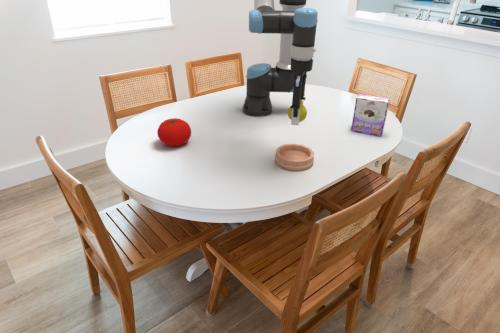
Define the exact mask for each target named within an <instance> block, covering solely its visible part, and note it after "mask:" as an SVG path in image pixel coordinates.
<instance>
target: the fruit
mask: <svg viewBox="0 0 500 333" xmlns="http://www.w3.org/2000/svg"><path fill="white" fill-rule="evenodd" d="M302 91H303V90H302ZM307 115H308V110H307V108H306V106H305V105H304V102H303V103H302V100H301V101H300V116H299V123H301V122H303V121H305V119H306V117H307ZM287 116H288V118H289V119H290V120H291V118H292V108H290V106H289V107H288V108H287Z"/></svg>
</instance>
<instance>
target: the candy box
mask: <svg viewBox="0 0 500 333" xmlns="http://www.w3.org/2000/svg"><path fill="white" fill-rule="evenodd" d="M390 99H391V98H388V97H381V96H380V97H379V96H373V95H368V94H362V93H358V95H357V96H356V98H355V103H354V105H355V106H354V110H353V117H352V123H351V127H350V128H351V129H350V132H353V133H361V134H366V135H370V136H377V137H382V136H383V133H384V129H385V125H386V120H387V115H388V109H389V105H390Z"/></svg>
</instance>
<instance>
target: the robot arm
mask: <svg viewBox="0 0 500 333" xmlns="http://www.w3.org/2000/svg"><path fill="white" fill-rule="evenodd" d="M253 2H254V3H253V4H254V6H253V8H254V9H251V10H249V11H248V31H249V32H250V33H252V34H253V33H254V34H280V42H279V43H280V44H279V57H278V58H279V59H278V61H277V62H276V63H275V67H272V66H271V64H270V63H266V62H265V63H264V62H263V63H261V62H260V63H256V64H252V65H250V66H248V68H247V69H246V95H245V96H246V97H245V99H244V102H243V105H242V112H243V114H245V115H248V116H250V117H267V116H269V115H271V114H273V104H272V101H271V100H272V99H271V97H270V96H271V95H270V93H292V100H291V105H290V106H289V107H290V108H292V118H291V119H290V125H291V126H299V125H300V122H299V116H300V101H301V100H302V103H303V104H304V101H306V97H305V93H306V92H305V91H306V90H305V89H306V83H307V77H308V74H307V73H308V72H311V71H312V70H313V64H314V59H313V58H314V54H315V52H317V49H316V48H315V42H316V34H317V26H318V10H317V9H315V8H310V7H305V6H306V5H307V0H278V2H279V5H280V7H281V8H282V10H275V0H253ZM302 90H303V91H302Z"/></svg>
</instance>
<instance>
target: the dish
mask: <svg viewBox="0 0 500 333" xmlns="http://www.w3.org/2000/svg"><path fill="white" fill-rule="evenodd" d="M314 155H315V152H314V151H313V150H312V149H311V148H310V147H308V146H306V145H304V144H298V143H287V144H286V143H285V144H282V145H280V146H278V147H277V149H276V151H275V154H274V162H275V164H276V165H277V166H278V167H279V168H281V169H283V170H286V171H290V172H302V171H303V172H305V171H306V170H309V169H311V168H312V167H313V166H314V160H315V158H314V157H315V156H314Z"/></svg>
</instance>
